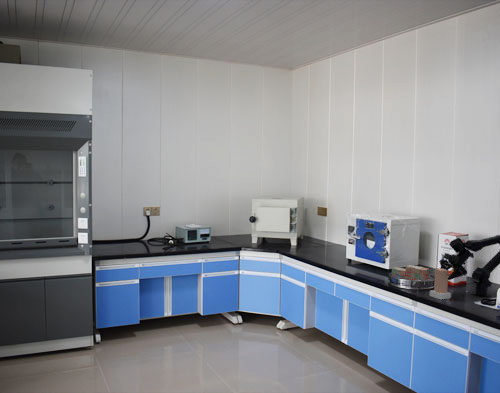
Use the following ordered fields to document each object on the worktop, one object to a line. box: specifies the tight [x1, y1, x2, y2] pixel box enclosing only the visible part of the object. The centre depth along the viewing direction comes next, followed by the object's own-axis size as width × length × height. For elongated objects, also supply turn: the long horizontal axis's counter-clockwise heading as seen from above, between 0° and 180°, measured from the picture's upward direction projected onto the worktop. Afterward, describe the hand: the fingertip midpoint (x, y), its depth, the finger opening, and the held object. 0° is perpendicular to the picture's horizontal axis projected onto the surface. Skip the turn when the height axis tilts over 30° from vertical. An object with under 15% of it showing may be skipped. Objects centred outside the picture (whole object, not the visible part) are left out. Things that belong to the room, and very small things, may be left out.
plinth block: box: [429, 289, 452, 300], centre depth 258 cm, size 8×8×3 cm
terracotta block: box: [433, 267, 449, 293], centre depth 257 cm, size 5×5×13 cm
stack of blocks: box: [391, 264, 430, 285], centre depth 282 cm, size 21×6×12 cm, turn 47°
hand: (443, 277), depth 257 cm, fingers open, 9 cm apart
